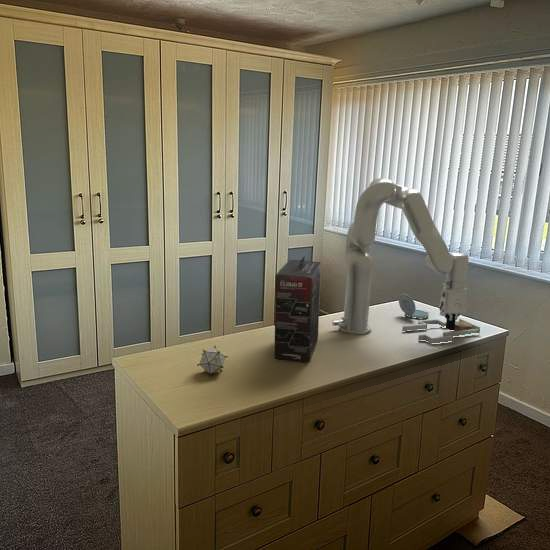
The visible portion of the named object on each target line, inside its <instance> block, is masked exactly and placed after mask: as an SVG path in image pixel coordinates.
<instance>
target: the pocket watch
mask: <svg viewBox="0 0 550 550" xmlns="http://www.w3.org/2000/svg"><path fill="white" fill-rule="evenodd" d="M398 305H399V307H400V309H401V311H402V312H403V313H404V315H405V314H406V315H408V316H410V317H416V318H425V317H427V318H429V314H430V312H428V311H424V310H421V309H417V308H416V304H415V301H414V299H413V297H411V296H410V295H409V294H407V293H402V294H400V295H399V297H398ZM406 315H405V316H406ZM425 319H426V318H425Z"/></svg>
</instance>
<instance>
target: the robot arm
mask: <svg viewBox="0 0 550 550" xmlns="http://www.w3.org/2000/svg"><path fill="white" fill-rule="evenodd" d="M383 204H386V205H390V206H391V207H394V208H397V209H400V210H402V211H403V212H402V213H403V214H404V216H405V218H406V220H407V223H408V224H409V227H410V229H411V231H412V233H413V235H414V237H415V238H416V240H417V241H418V242H419V243H420V245H422V247H423V248H424V250H425V252H426V254H427V255H426V257H425V264H426V266H427V267H428V268H429V269H431V270H432V271H433V272H435V273H436V274H439V275H445V281H443V282H442V284H443V286H444V287H442V292H441V293H440V294H441V295H440V300H439V307H438V309H439V311H440V312H439V316H441V317H444V318H445V320H446V321H445V322H446V328H445V329H447V330H449V331H450V330H454V328H455V321H458V319H459V317H460V316H461V315H464V314H465V313H466V312H467V308H468V289H467V287H466V284H467V274H468V267H469V266H468V265H469V256H468V254H467V253H463V252H459V251H458V252H454V251H453V252H450V251H449V248H448V246H447V244H446V242H445V241H444V238H443V237H442V235H441V233H440V232H439V230H438V228H437V226H436V224H435V222H434V220H433V218H432V216H431V213H430V211H429V209H428V206H427V204H426V202H425V200H424V197H423V195H422V194H421V192H420V191H418V190H416V189H412V188H408V187H407V186H406V187H405V186H402V185H400V184H397V183H394V182H393V181H392V180H390V179H388V178H384V177H383V178H381V177H379V178H375V179H373V180H371V182H370V183H369V186H368V187H367V188H366V189H364V191H363V192H362V193H361V194H360V196H359V198H358V200H357V203H356V206H355V211H354V212H355V213H354V218H353V222H352V223H351V224H350V226H349V227H348V230H347V234H346V243H345V250H344V263H345V265H346V267H347V273H346V279H345V280H346V283H345V296H344V297H345V298H344V310H343V311H344V312H343V313H344V314H343V316H342V317H341V319H339V320H332V321H331V322H332V327H333V326H335V327H336V326H338V327H339V331H340V330H341V331H342V332H343V333H347V334H352V335H365V334H366V333H367V334H369V333H371V332H372V326H371V325H369V313H370V312H369V311H370V300H371V287H372V280H373V273H374V261H373V258H372V256H371V255H370V254H369V253H370V247H371V246H372V245H373V243H374V242H375V238H376V231H377V223H378V217H379V216H378V215H379V212H380V209H381V207H382V206H383Z"/></svg>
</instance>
